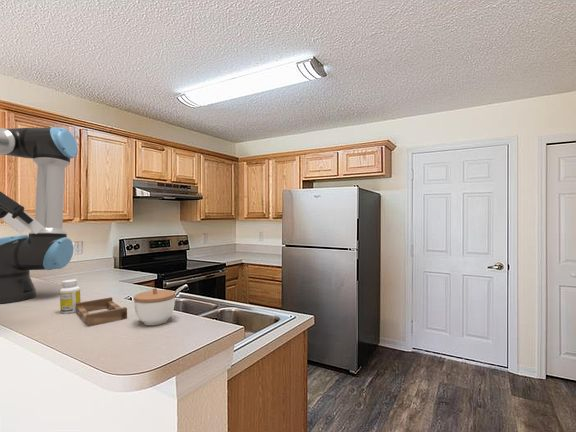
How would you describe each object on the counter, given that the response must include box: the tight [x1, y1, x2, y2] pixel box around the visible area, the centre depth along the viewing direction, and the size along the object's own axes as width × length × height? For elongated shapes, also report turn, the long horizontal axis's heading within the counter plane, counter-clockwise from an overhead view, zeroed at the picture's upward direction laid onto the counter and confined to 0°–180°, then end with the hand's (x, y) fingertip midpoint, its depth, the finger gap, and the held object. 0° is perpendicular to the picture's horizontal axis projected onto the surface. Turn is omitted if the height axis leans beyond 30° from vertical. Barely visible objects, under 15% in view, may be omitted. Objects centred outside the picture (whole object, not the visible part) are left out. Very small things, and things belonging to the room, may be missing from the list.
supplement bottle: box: [59, 278, 82, 315], centre depth 106 cm, size 5×5×10 cm
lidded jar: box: [133, 287, 176, 326], centre depth 93 cm, size 11×11×9 cm
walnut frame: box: [75, 296, 128, 327], centre depth 101 cm, size 18×10×3 cm, turn 41°
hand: (32, 230), depth 99 cm, fingers open, 13 cm apart
